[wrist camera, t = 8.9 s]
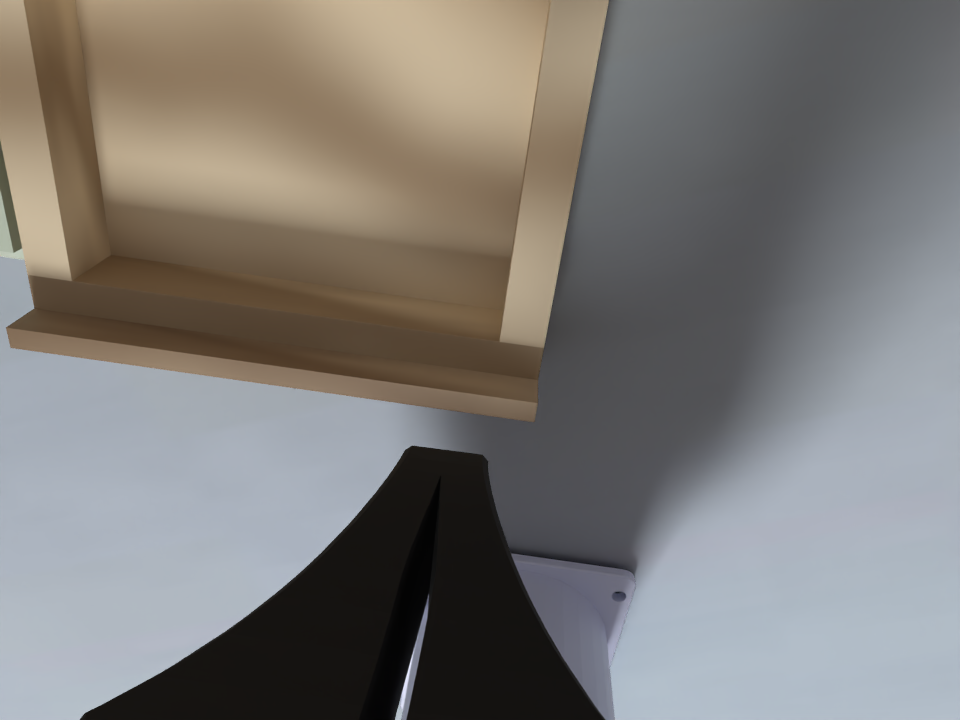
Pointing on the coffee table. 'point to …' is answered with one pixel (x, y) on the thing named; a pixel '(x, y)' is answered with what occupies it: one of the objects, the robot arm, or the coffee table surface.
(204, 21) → the box
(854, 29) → the coffee table surface
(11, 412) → the coffee table surface
